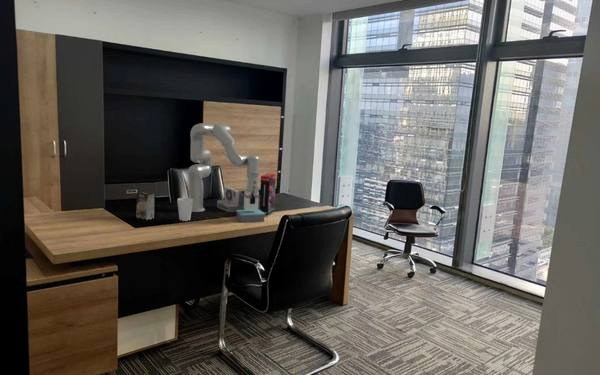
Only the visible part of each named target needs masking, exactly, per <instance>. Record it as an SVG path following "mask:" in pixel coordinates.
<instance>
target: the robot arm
mask: <svg viewBox="0 0 600 375" xmlns="http://www.w3.org/2000/svg"><path fill="white" fill-rule="evenodd" d="M231 134H232V129H231V127H230V126H229V125H228V124H218V123H197V124H195V125H193V126H192V128H191V130H190V134H189V135H190V160H191V161H192V162H193V163H195V164H193V165H191V166H190V167H188V170H187V176H188V198H191V199H193V205H192V211H191V213H200V212H205V210H206V209H205V207H204V205H203V204H204V181H203V179H204V178H207V177H209V176H210V175H211V171H212V153H211V151H210V150H209V149H208V148H205V146H204V145H205V142H204V139H203V137H215V139H216V140H217V141H218V142H219V143H220V145H221V146H222V147H223V149H224V154H225V156H226V157H227V159H228V160H229V162H230V163H231V164H232V165H233V166H235V167H237V168H241V167H246V178H247V180H246V191H249V192H250V193H251V198H250V204H255V196H256V193H258V192H259V188H258V187H259V182H258V178H259V173H260V172H259V170H260V157H259V156H257V155H249V154H239V153H238V152H237V151H236V149H235V147H234V145H235V143H236V140H235V138H233V136H232V135H231ZM196 163H198V164H196ZM252 192H253V193H252ZM252 194H253V195H252Z"/></svg>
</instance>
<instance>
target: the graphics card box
mask: <svg viewBox="0 0 600 375" xmlns="http://www.w3.org/2000/svg"><path fill="white" fill-rule="evenodd" d="M276 175H277V174H275V173H269V172H267V173H266V174H263V175H261V176H260V189H259V190H260V191H259V210H261V211H262V212H264V213H265V215H264V216H270V215H271V214H272V213H274V212H275V205H276V204H275V203H276V180H277V176H276Z"/></svg>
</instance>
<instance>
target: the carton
mask: <svg viewBox="0 0 600 375" xmlns="http://www.w3.org/2000/svg"><path fill="white" fill-rule="evenodd" d="M252 193H253V192H252ZM243 194H244V209H245V210H259V202H260V191H258V193H256V196H255V204H250V198H251V193H250V192H249V191H247V190H244V193H243ZM252 195H253V194H252Z"/></svg>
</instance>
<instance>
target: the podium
mask: <svg viewBox="0 0 600 375" xmlns="http://www.w3.org/2000/svg"><path fill="white" fill-rule="evenodd" d="M235 213H236V219H237V220H238V221H240V223H258V222H259V223H262V222H263V223H264V222H265V216H266V215H265V213H264V212H262V211H261V210H260V209H258V210H236V212H235Z"/></svg>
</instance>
